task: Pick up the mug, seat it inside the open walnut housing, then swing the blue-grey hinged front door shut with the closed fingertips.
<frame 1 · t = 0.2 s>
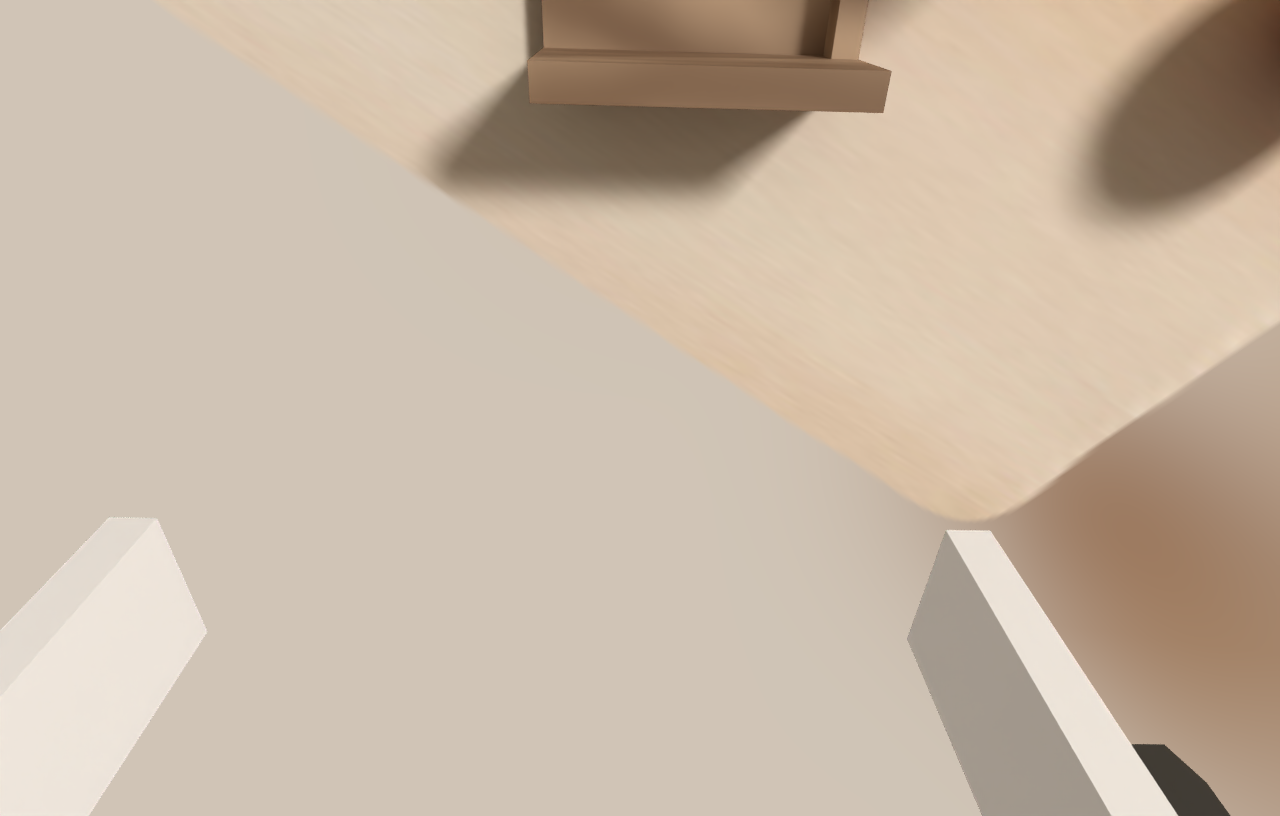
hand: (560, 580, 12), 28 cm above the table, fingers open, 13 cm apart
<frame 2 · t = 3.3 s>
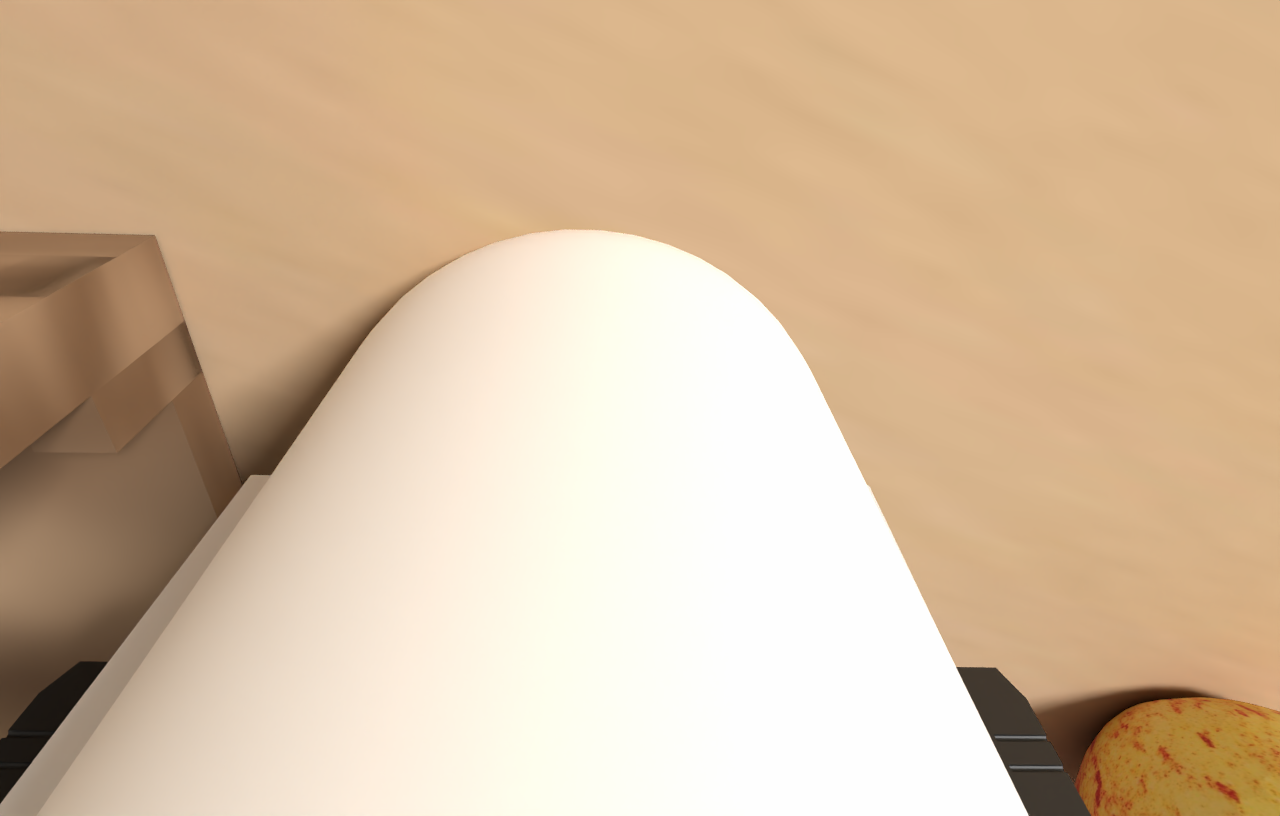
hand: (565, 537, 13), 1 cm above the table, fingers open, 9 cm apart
mug: (534, 478, 14), on the table, touching gripper
apple: (1150, 729, 20), on the table
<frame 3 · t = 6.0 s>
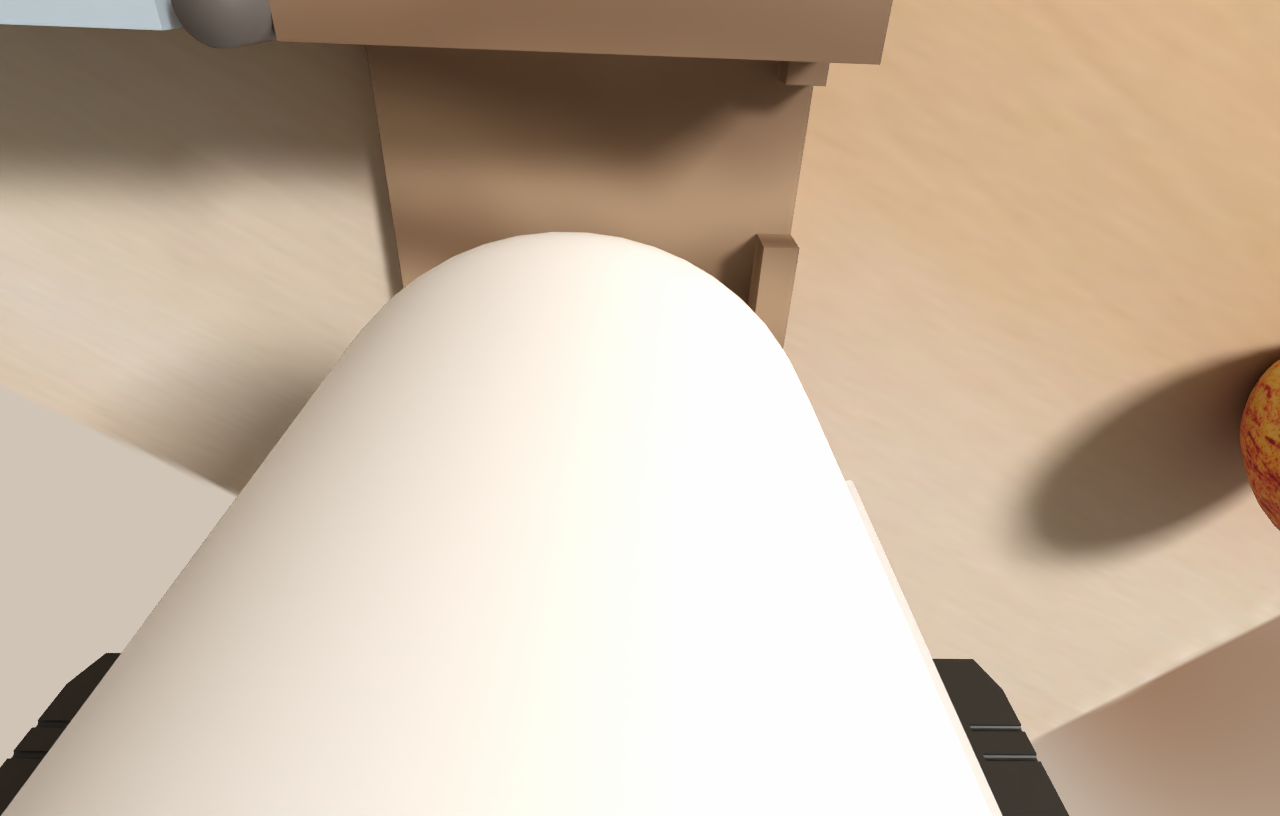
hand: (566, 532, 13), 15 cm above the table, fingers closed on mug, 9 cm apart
mug: (525, 478, 14), point 14 cm above the table, touching gripper
housing: (594, 259, 26), on the table
when the fingers open (4 cm above the table, at t = 8.4 s): mug drops 2 cm, resting on housing.
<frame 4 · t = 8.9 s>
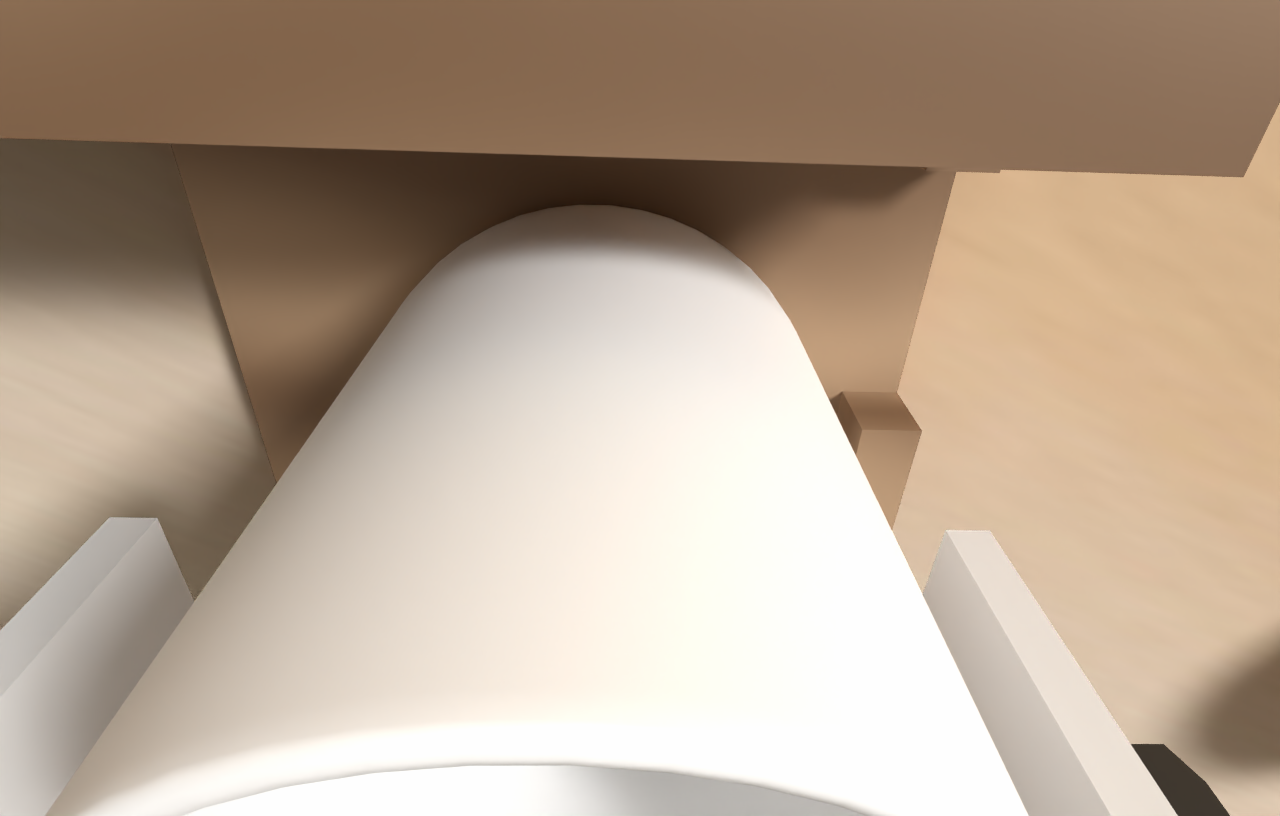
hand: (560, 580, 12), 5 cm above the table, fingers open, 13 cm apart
mug: (549, 435, 16), point 1 cm above the table, touching housing
housing: (578, 419, 16), on the table
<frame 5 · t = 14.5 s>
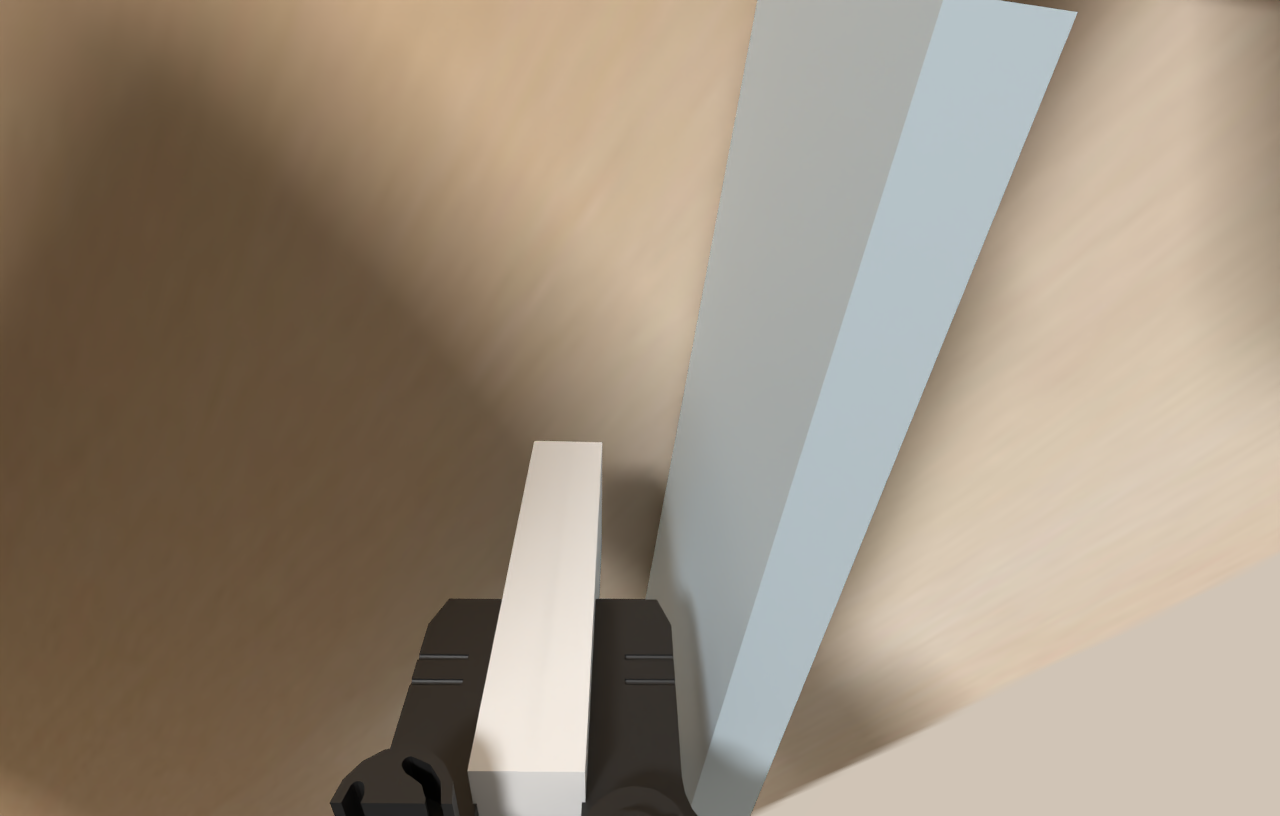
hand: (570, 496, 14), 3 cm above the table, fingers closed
door: (699, 478, 12), point 4 cm above the table, hinge at -86.8°, touching gripper
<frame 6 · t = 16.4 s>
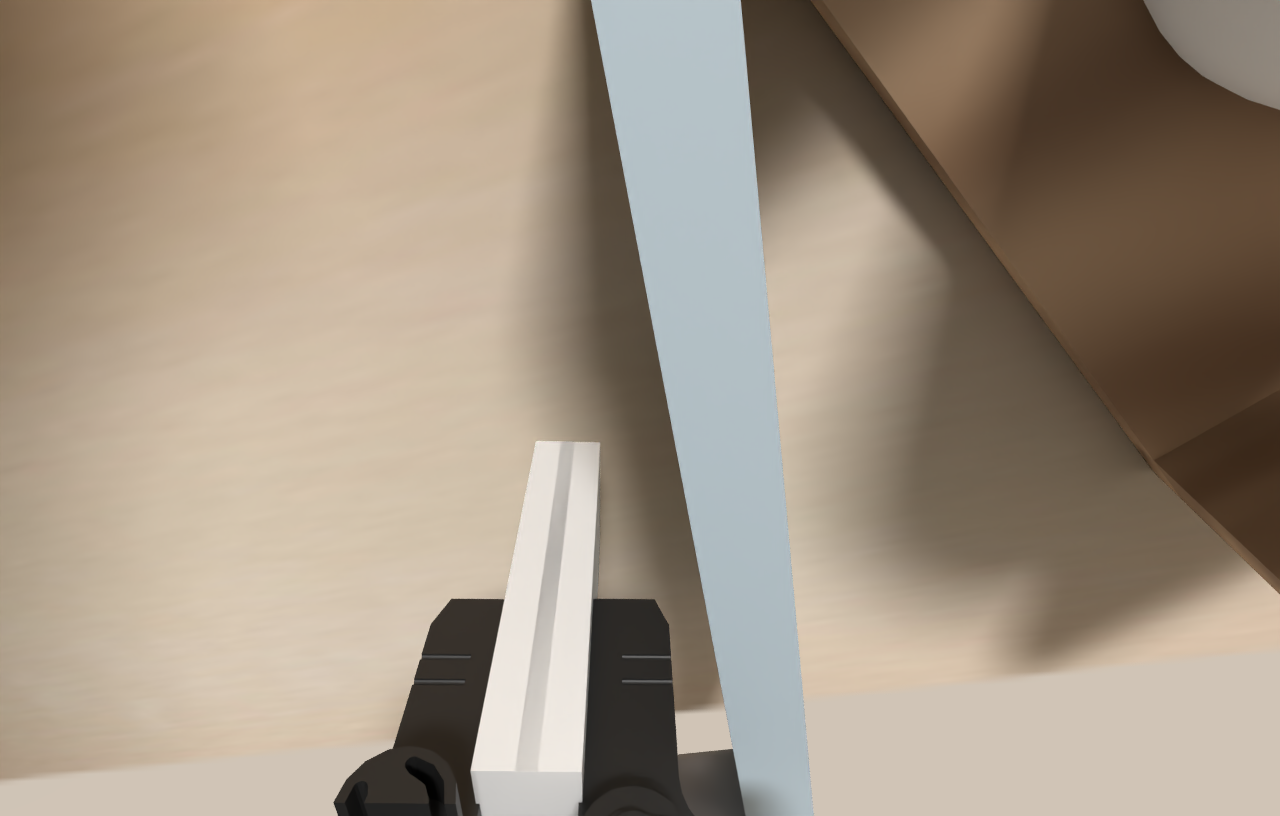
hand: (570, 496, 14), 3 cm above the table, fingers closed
door: (690, 474, 12), point 4 cm above the table, hinge at -34.0°, touching gripper
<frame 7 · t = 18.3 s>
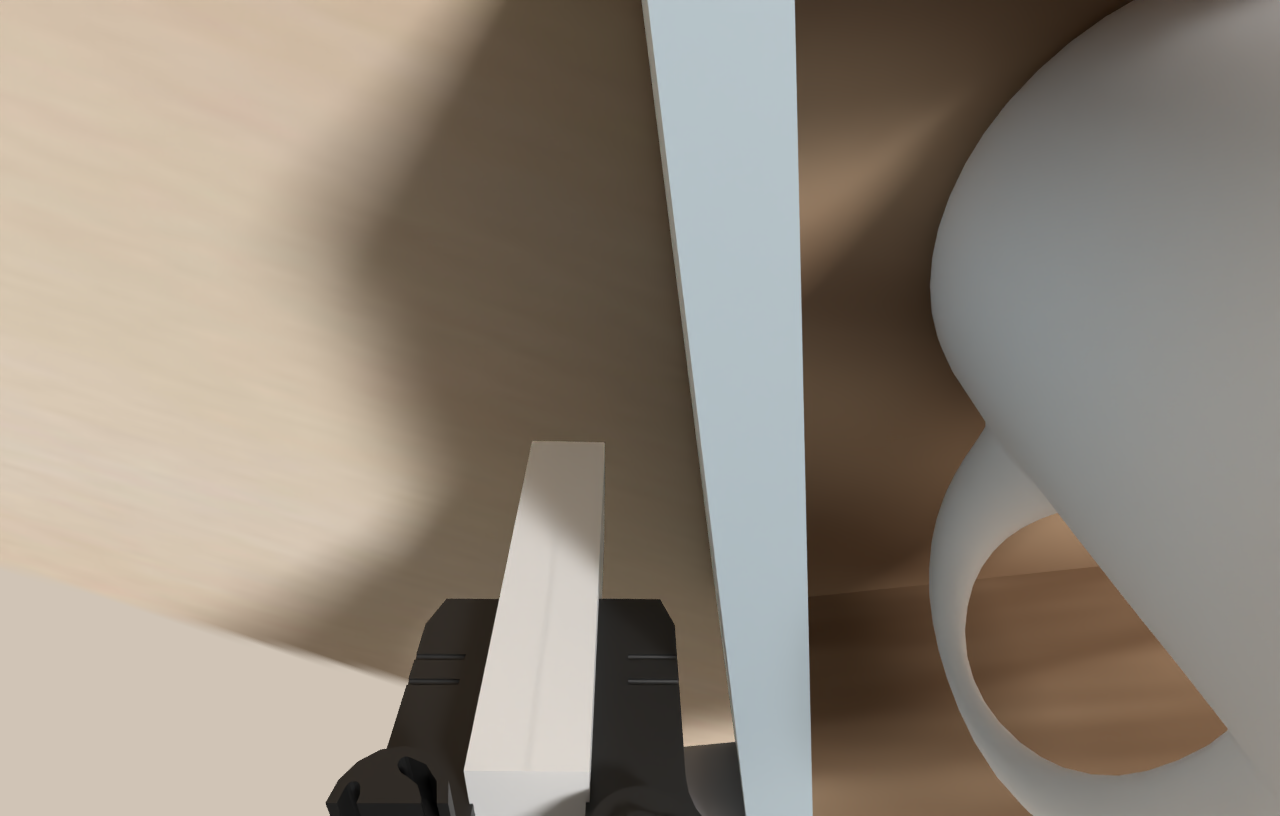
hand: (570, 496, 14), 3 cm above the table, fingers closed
mug: (1070, 297, 14), point 1 cm above the table, touching housing
housing: (1080, 280, 14), on the table
door: (695, 467, 12), point 4 cm above the table, hinge at 0.1°, touching gripper
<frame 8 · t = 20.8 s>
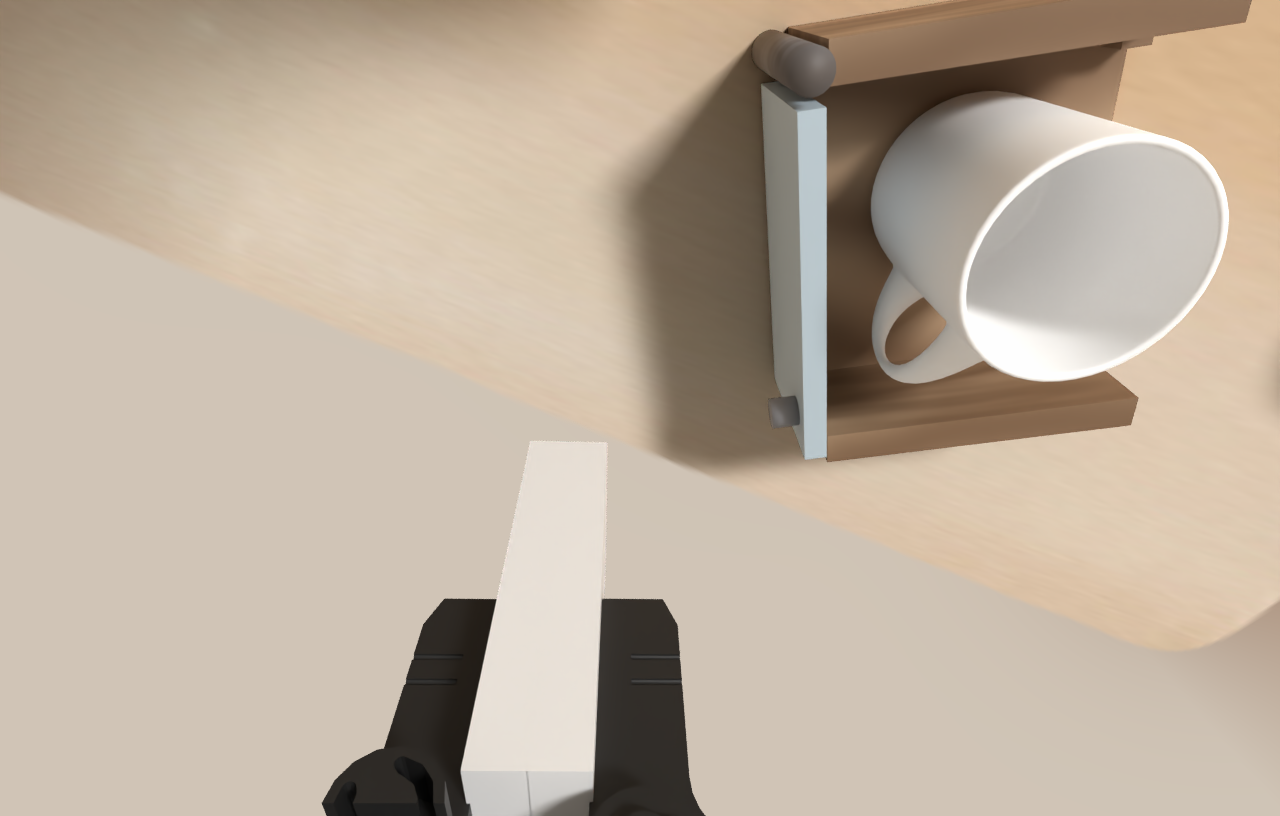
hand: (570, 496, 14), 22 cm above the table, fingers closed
mug: (930, 217, 33), point 1 cm above the table, touching housing
housing: (936, 212, 34), on the table
door: (781, 276, 31), point 4 cm above the table, hinge at 0.1°
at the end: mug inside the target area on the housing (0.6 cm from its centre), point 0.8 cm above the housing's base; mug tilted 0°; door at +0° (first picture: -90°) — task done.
